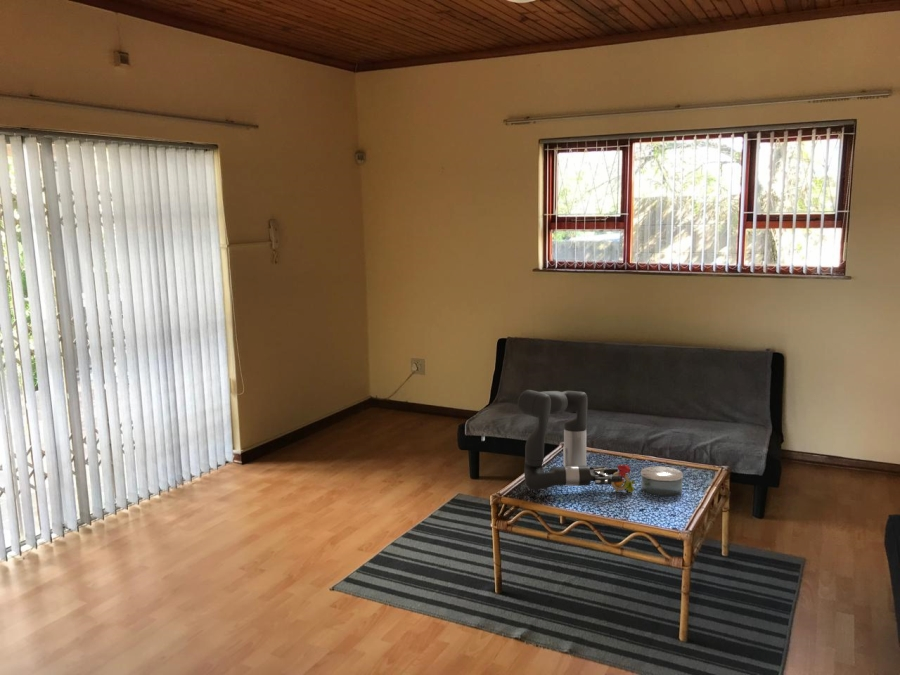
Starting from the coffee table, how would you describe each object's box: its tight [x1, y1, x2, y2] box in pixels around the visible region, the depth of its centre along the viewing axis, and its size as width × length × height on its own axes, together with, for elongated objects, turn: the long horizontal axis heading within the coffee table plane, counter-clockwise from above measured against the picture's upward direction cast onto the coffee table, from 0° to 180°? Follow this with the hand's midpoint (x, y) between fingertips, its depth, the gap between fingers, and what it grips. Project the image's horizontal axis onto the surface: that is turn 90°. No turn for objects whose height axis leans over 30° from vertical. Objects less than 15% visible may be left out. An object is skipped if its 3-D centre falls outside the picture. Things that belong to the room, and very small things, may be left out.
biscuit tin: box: [640, 465, 684, 498], centre depth 276 cm, size 15×15×7 cm
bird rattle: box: [610, 464, 636, 493], centre depth 275 cm, size 6×11×9 cm
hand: (619, 475), depth 275 cm, fingers open, 8 cm apart
